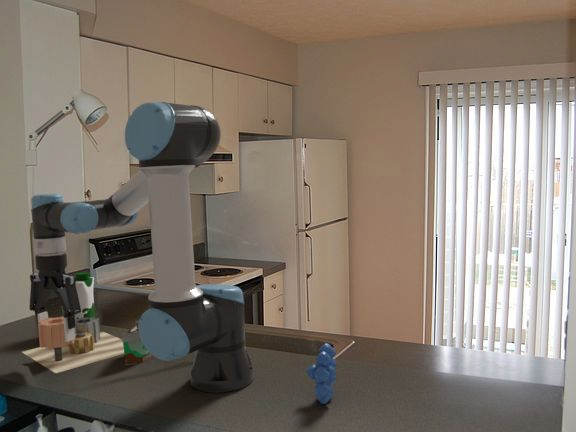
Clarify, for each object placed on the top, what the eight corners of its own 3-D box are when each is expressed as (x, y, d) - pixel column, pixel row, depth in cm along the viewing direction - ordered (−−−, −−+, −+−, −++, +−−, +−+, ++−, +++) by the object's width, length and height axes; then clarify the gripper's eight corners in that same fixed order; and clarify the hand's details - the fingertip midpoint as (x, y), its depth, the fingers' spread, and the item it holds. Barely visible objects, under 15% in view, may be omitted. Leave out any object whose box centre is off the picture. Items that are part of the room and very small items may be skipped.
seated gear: (105, 339, 162) (104, 319, 162) (79, 347, 156) (78, 326, 155) (89, 334, 168) (88, 315, 167) (63, 342, 161) (62, 322, 160)
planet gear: (74, 336, 151) (72, 315, 151) (74, 345, 144) (72, 323, 143) (41, 341, 148) (39, 319, 148) (39, 350, 141) (37, 327, 140)
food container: (148, 372, 140) (145, 333, 139) (124, 372, 140) (121, 334, 139) (160, 355, 152) (158, 319, 151) (138, 355, 152) (136, 320, 151)
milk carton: (86, 341, 166) (82, 276, 164) (58, 341, 167) (53, 276, 165) (100, 332, 175) (96, 270, 173) (73, 332, 176) (69, 270, 174)
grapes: (313, 386, 127) (311, 336, 126) (342, 389, 125) (340, 337, 124) (300, 408, 116) (298, 353, 115) (332, 411, 114) (330, 355, 113)
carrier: (142, 353, 154) (141, 332, 153) (56, 379, 137) (54, 355, 136) (102, 336, 171) (101, 316, 170) (21, 357, 154) (19, 335, 154)
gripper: (9, 254, 145) (16, 338, 147) (70, 257, 136) (76, 347, 138) (33, 249, 151) (39, 330, 154) (92, 252, 143) (98, 338, 145)
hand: (57, 338), depth 146 cm, fingers closed on planet gear, 8 cm apart
